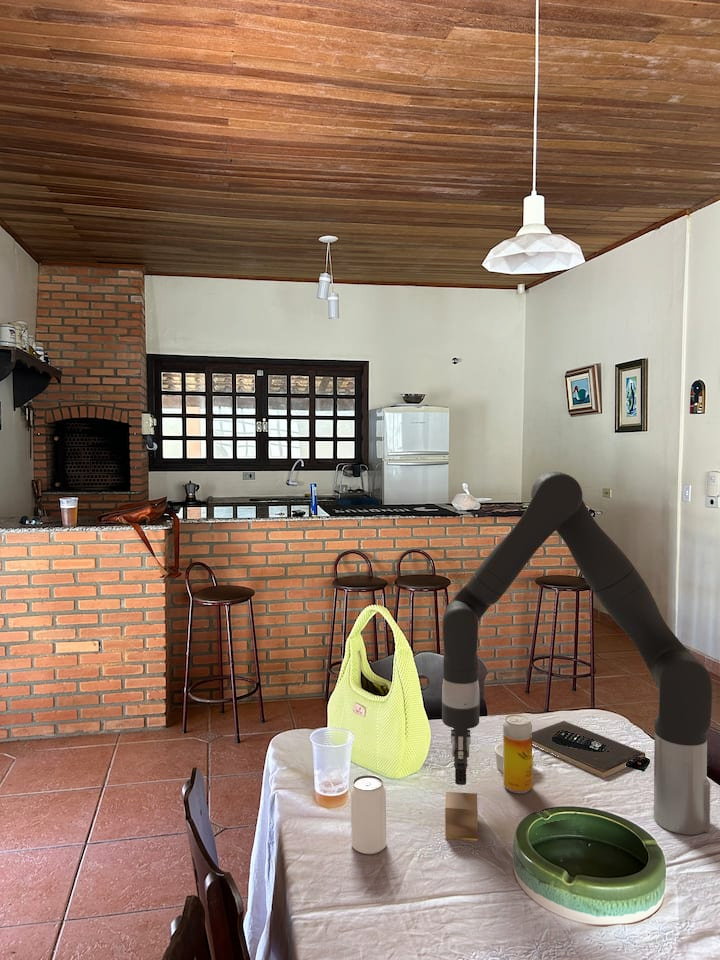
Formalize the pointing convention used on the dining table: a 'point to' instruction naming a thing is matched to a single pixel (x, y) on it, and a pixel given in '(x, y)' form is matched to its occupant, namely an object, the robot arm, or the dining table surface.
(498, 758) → the ramekin
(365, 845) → the can
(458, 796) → the cube
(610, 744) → the hardcover book
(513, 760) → the beer can
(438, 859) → the dining table surface
